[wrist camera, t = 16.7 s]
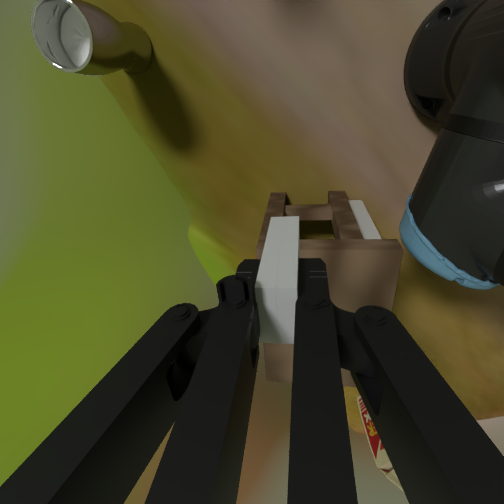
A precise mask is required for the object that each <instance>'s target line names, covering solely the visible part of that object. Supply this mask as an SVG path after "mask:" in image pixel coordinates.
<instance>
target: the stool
mask: <svg viewBox="0 0 504 504" xmlns="http://www.w3.org/2000/svg"><path fill="white" fill-rule="evenodd" d="M287 216H299V220H331V222H332V226H333V231H334V235H335V239H317V240H300V258H321V259H322V260H323V261H324V262H325V264H326V269H327V278H328V286H329V294H330V299H331V301H332V303H333V304H334V305H335V306H337V307H338V308H340V309H342V310H345V311H349V312H353V313H355V312H356V310H358V309H359V308H360V307H363V306H367V305H375V306H380V307H383V308H385V309H387V310H390V311H391V312H392V307H393V302H394V297H395V292H396V286H397V281H398V276H399V271H400V265H401V260H402V255H403V248H402V247H401V245H400V244H399V242H398V240H397V239H364V238H363V236H362V233H361V231H360V228H359V226H358V223H357V221H356V218H355V216H354V214H353V211H352V209H351V206H350V204H349V201H348V199H347V196H346V194H345V191H328V204H320V205H286V192H283V193H271V194H270V198H269V202H268V206H267V210H266V213H265V217H264V221H263V225H262V229H261V233H260V237H259V241H258V245H257V249H256V255H257V259H261V258H262V253H263V249H264V245H265V241H266V236H267V232H268V228H269V224H270V219H271V217H287ZM263 345H264V358H265V370H266V381H277V382H291V383H292V375H293V351H294V344H283V343H263ZM341 374H342V382H343V386H350V387H356V385H355V383H354V381H353V378H352V376H351V373H350V371H349V370H346V369H342V368H341Z"/></svg>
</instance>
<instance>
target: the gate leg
mask: <svg viewBox="0 0 504 504" xmlns="http://www.w3.org/2000/svg"><path fill="white" fill-rule="evenodd" d="M348 201H349V204H350V206H351V209H352V211H353V214H354V216H355V218H356V221H357V223H358V226H359V228H360V231H361V233H362V236H363V238H364V239H381V237H380V235H379V233H378V231H377V229H376V227H375V225H374V223H373V221H372V219H371V217H370V215H369V214H368V212H367V210H366V208H365V206H364V204H363V202H362V200H348Z"/></svg>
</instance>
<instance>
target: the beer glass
mask: <svg viewBox="0 0 504 504" xmlns="http://www.w3.org/2000/svg"><path fill="white" fill-rule="evenodd" d="M30 22H31V23H30V24H31V31H32V35H33V39H34V41H35V44H36V46H37V48H38V49H39V51H40V53H41V54H42V55H43V57H44V58H45V59H46V60H47V61H48V62H49V63H50V64H51V65H53V66H54V67H55V68H57V69H59V70H61V71H64V72H69V73H77V74H83V75H94V76H95V75H106V74H110V73H114V72H116V71H119V70H122V69H123V70H125V71H128V72H131V73H140V72H142V71H144V70H145V69H146V68H147V67H148V66H149V64H150V62H151V59H152V46H151V42H150V40H149V37H148V36H147V34H146V33H145V31H144V30H143V29H142V28H141V27H140V26H138V25H136V24H134V23H131V22H119V21H118V20H117V19H115V18H114V17H113V16H111V15H110V14H109V13H107V12H106V11H104V10H102V9H101V8H99V7H97V6H95V5H93V4H91V3H88V2H86V1H82V0H37V1H36V2H35V4H34V6H33V8H32V12H31V19H30Z"/></svg>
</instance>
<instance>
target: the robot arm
mask: <svg viewBox="0 0 504 504" xmlns="http://www.w3.org/2000/svg"><path fill="white" fill-rule="evenodd" d="M404 85H405V90H406V93H407V96H408V98H409V100H410V102H411V104H412V105H413V106H414V108H415V109H416V110H417V111H418V112H419V113H421V114H422V115H423V116H425V117H427V118H429V119H431V120H434V121H437V122H441V123H444V125H443V127H442V128H441V130H440V133H439V135H438V137H437V139H436V141H435V144H434V146H433V148H432V150H431V153H430V155H429V157H428V159H427V162H426V164H425V166H424V168H423V170H422V173H421V175H420V177H419V179H418V182H417V184H416V186H415V188H414V191H413V193H412V194H411V195H410V196H409V198H408V200H407V204H406V210H405V212H404V215H403V218H402V220H401V223H400V228H399V231H400V236H401V240H402V242H403V244H404V246H405V247H406V249H407V250H408V251H409V253H410V254H411V255H412V256H413V257H414V258H415V259H416V260H418V261H419V262H420V263H421V264H422V265H424V266H425V267H426V268H428V269H429V270H431V271H432V272H434V273H436V274H437V275H439V276H441V277H443V278H445V279H447V280H449V281H453V280H455V281H457V282H458V283H459V284H460V285H461V286H465V287H468V288H472V289H481V290H487V289H492V288H494V287H496V286H499V285H503V286H504V0H444V1H442V2H441V3H440V4H439V5H438V6H437V7H436V8H434V9H433V10H432V12H431V13H430V14H429V15H428V16H427V17H426V18H425V20H424V21H423V22H422V24H421V25H420V27H419V28H418V30H417V31H416V33H415V35H414V37H413V39H412V41H411V43H410V46H409V49H408V52H407V55H406V59H405V64H404ZM216 287H217V292H218V298H219V305H218V307H215V308H212V309H208V310H204V311H198V308H197V307H196V306H195V305H193V304H190V303H183V304H177V305H175V306H173V307H171V308H170V309H168V310H167V311H166V312H165V313H164V314H163V315H162V316H161V317H160V318H159V319H158V320H157V321H156V322H155V324H154V325H153V326H152V327H151V328H150V329H149V330H148V331H147V332H146V333H145V334H144V335H143V336H142V337H141V338H140V339H139V340H138V341H137V343H136V344H135V345H134V346H133V347H132V348H131V349H130V350H129V351H128V352H127V353H126V354H125V355H124V356H123V357H122V358H121V359H120V361H119V362H118V363H117V364H116V365H115V366H114V367H113V368H112V369H111V370H110V371H109V372H108V373H107V374H106V376H104V377H103V379H102V380H101V381H100V382H99V383H98V384H97V385H96V386H95V387H94V388H93V389H92V390H91V391H90V392H89V394H87V396H86V397H85V398H84V399H83V400H82V401H81V402H80V403H79V404H78V405H77V406H76V407H75V408H74V409H73V410H72V411H71V412H70V413H69V415H68V416H67V417H66V418H65V419H64V420H63V421H62V422H61V423H60V424H59V425H58V426H57V427H56V428H55V429H54V431H52V433H51V434H50V435H49V436H48V437H47V438H46V439H45V440H44V441H43V442H42V443H41V444H40V445H39V446H38V447H37V448H36V449H35V451H34V452H33V453H32V454H31V455H30V456H29V457H28V458H27V459H26V460H25V461H24V462H23V463H22V465H20V466H19V467H18V469H17V470H16V471H15V472H14V473H13V474H12V475H11V476H10V477H9V478H8V479H7V480H6V481H5V482H4V483H3V484H2V485H1V487H0V504H124V502H125V500H126V499H127V497H128V496H129V494H130V492H131V491H132V489H133V488H134V486H135V484H136V483H137V481H138V479H139V477H140V476H141V475H142V473H143V472H144V470H145V468H146V467H147V465H148V463H149V462H150V460H151V459H152V457H153V455H154V453H155V452H156V451H157V449H158V447H159V446H160V444H161V443H162V441H163V439H164V438H165V436H166V435H167V433H168V431H169V430H170V428H171V427H172V425H173V423H174V422H175V423H174V426H173V429H172V431H171V434H170V437H169V440H168V442H167V445H166V447H165V450H164V453H163V456H162V458H161V461H160V463H159V466H158V469H157V472H156V474H155V477H154V480H153V482H152V485H151V488H150V490H149V494H148V496H147V498H146V501H145V504H236V500H237V494H238V487H239V481H240V474H241V468H242V462H243V455H244V449H245V443H246V436H247V429H248V422H249V417H250V410H251V403H252V397H253V391H254V384H255V378H256V372H257V365H258V359H259V345H258V343H259V337H260V341H261V343H283V344H294V351H293V375H292V400H291V425H290V450H289V474H288V498H287V499H288V500H287V504H358V501H357V493H356V485H355V477H354V469H353V461H352V454H351V445H350V438H349V430H348V422H347V414H346V406H345V398H344V390H343V382H342V374H341V368H342V369H346V370H349V371H350V373H351V376H352V378H353V381H354V383H355V385H356V387H357V389H358V392H359V394H360V396H361V398H362V400H363V403H364V405H365V407H366V409H367V411H368V414H369V416H370V418H371V420H372V422H373V425H374V427H375V429H376V431H377V433H378V436H379V438H380V440H381V442H382V444H383V447H384V449H385V451H386V453H387V455H388V458H389V460H390V462H391V464H392V466H393V469H394V471H395V473H396V475H397V477H398V480H399V482H400V484H401V486H402V488H403V491H404V493H405V495H406V497H407V499H408V502H409V504H504V456H503V455H502V454H501V452H500V451H499V450H498V448H497V447H496V446H495V445H494V443H493V442H492V441H491V439H490V438H489V437H488V436H487V434H486V433H485V432H484V430H483V429H482V428H481V426H480V425H479V424H478V422H477V421H476V420H475V419H474V417H473V416H472V415H471V413H470V412H469V411H468V409H467V408H466V407H465V406H464V404H463V403H462V402H461V400H460V399H459V398H458V397H457V395H456V394H455V393H454V391H453V390H452V389H451V387H450V386H449V385H448V384H447V382H446V381H445V380H444V378H443V377H442V376H441V374H440V373H439V372H438V371H437V369H436V368H435V367H434V365H433V364H432V363H431V361H430V360H429V359H428V358H427V356H426V355H425V354H424V352H423V351H422V350H421V348H420V347H419V346H418V345H417V343H416V342H415V341H414V339H413V338H412V337H411V335H410V334H409V333H408V332H407V330H406V329H405V328H404V326H403V325H402V324H401V322H400V321H399V320H398V319H397V317H396V316H395V315H394V314H393V313H392V312H391V311H390V310H387V309H385V308H383V307H380V306H375V305H367V306H363V307H360V308H359V309H358V310H356V312H355V313H353V312H349V311H345V310H342V309H340V308H338V307H337V306H335V305H334V304H333V303H332V301H331V299H330V294H329V286H328V278H327V269H326V264H325V262H324V261H323V260H322V259H321V258H300V233H299V216H287V217H271V219H270V224H269V228H268V232H267V236H266V241H265V245H264V249H263V253H262V258H261V259H245V260H244V261H243V262H241V263H240V264H239V265H238V268H237V271H236V274H235V275H230V276H227V277H224V278H223V279H221V280H219V281H218V283H217V284H216Z"/></svg>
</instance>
